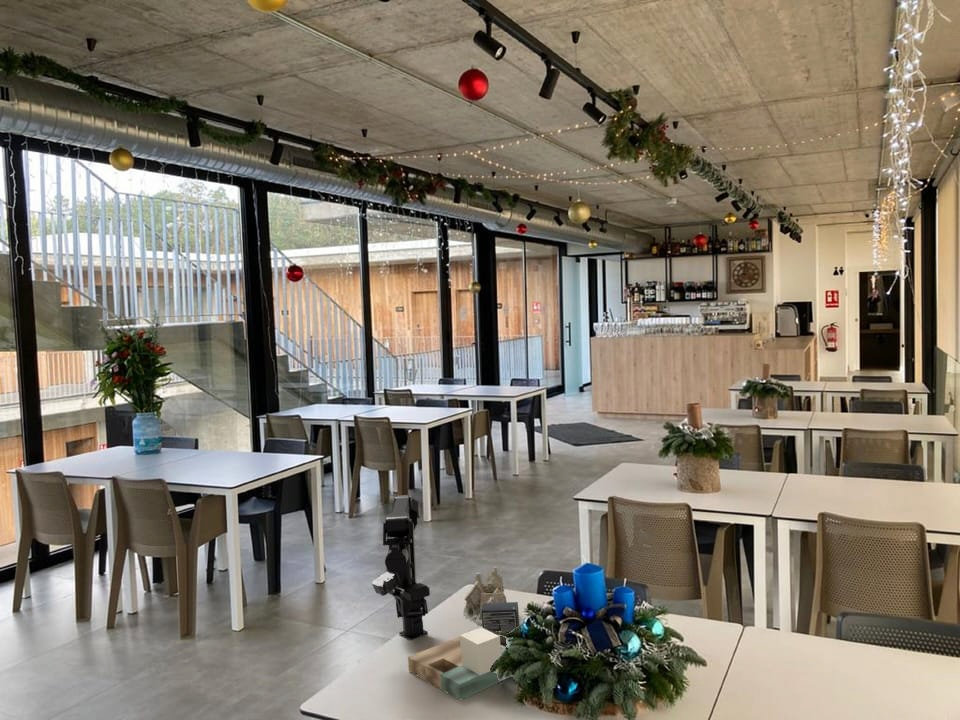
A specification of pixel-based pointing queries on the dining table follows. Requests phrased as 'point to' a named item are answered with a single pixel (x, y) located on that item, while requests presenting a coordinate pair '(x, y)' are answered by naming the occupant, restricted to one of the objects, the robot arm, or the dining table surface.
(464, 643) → the cream block
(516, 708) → the dining table surface
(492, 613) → the small box
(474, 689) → the trap board
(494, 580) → the ceramic cottage
